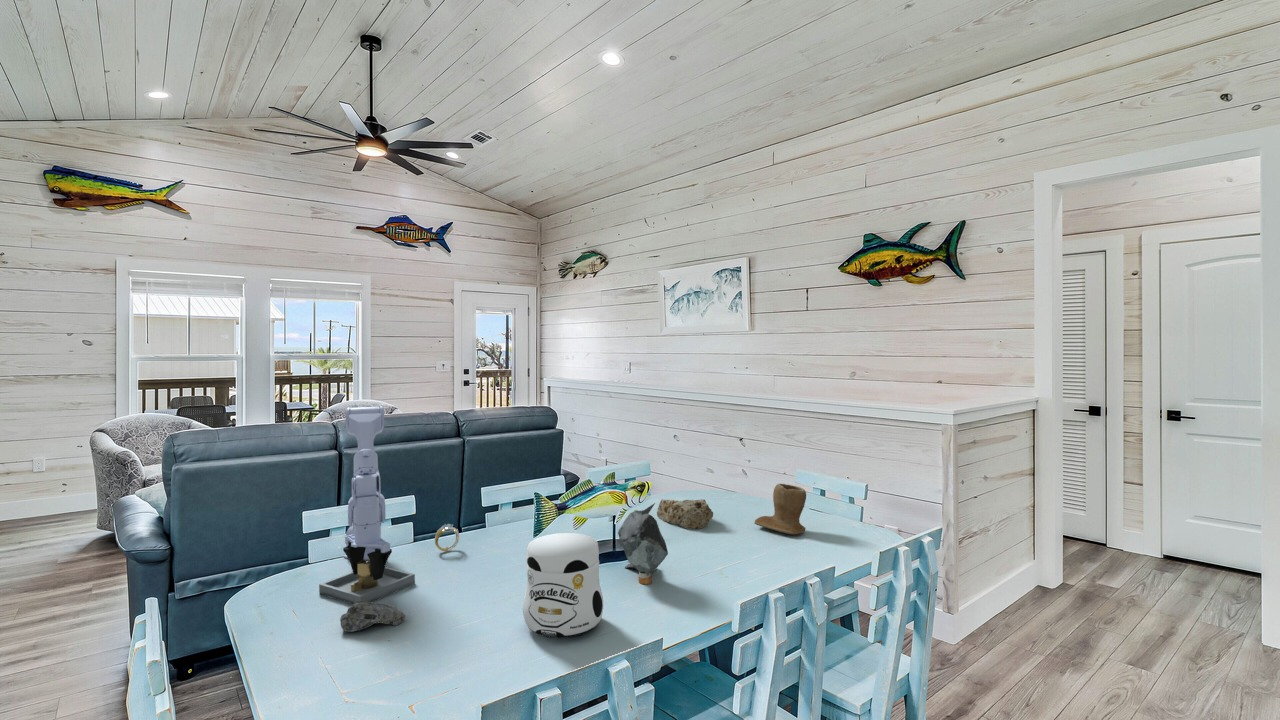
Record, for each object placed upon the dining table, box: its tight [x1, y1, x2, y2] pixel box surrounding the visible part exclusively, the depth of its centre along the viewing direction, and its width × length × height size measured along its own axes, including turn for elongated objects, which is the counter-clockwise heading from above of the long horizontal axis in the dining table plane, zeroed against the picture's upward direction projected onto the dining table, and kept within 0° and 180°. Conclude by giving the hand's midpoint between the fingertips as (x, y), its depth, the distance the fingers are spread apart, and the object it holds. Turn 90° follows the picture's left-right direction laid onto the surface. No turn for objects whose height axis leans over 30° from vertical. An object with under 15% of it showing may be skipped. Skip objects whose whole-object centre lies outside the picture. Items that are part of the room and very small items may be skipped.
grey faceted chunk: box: [617, 502, 669, 585], centre depth 157 cm, size 14×15×18 cm
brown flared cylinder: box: [753, 483, 807, 535], centre depth 197 cm, size 15×12×15 cm
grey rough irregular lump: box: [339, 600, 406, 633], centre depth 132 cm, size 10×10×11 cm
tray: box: [318, 566, 416, 605], centre depth 152 cm, size 16×16×2 cm
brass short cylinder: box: [351, 559, 378, 592], centre depth 151 cm, size 7×5×6 cm
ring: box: [434, 523, 460, 552], centre depth 178 cm, size 7×3×8 cm, turn 121°
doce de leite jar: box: [522, 532, 604, 639], centre depth 131 cm, size 17×17×18 cm
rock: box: [656, 499, 714, 530], centre depth 207 cm, size 20×14×10 cm
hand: (367, 575), depth 152 cm, fingers open, 7 cm apart
